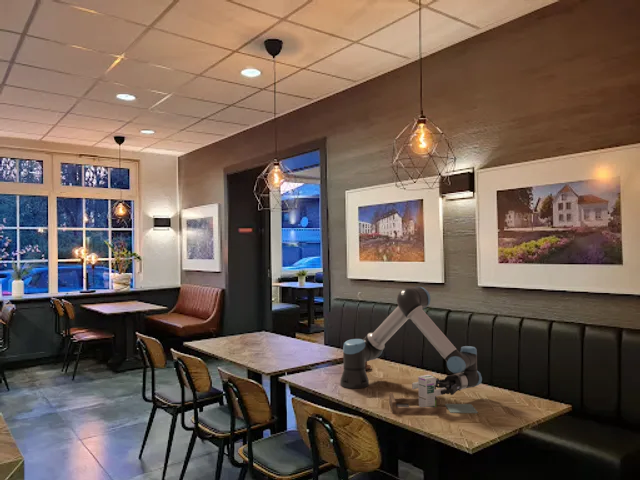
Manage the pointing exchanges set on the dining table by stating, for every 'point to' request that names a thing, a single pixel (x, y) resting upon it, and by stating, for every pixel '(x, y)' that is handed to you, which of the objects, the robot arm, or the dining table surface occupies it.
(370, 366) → the cup and saucer
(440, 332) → the robot arm
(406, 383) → the dining table surface
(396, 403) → the walnut lane
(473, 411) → the pad
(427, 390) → the syrup box
